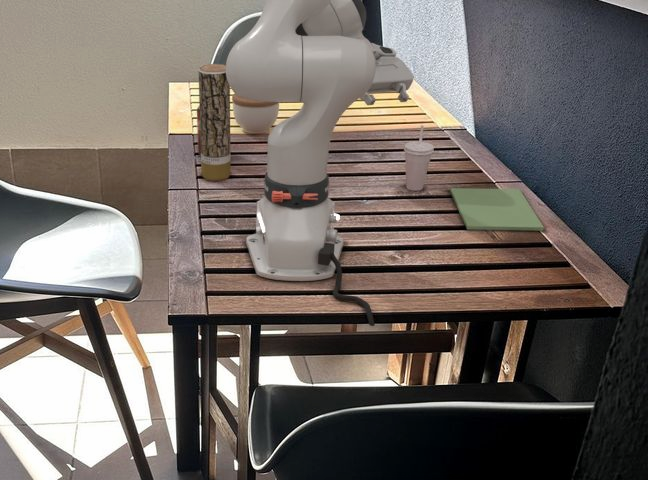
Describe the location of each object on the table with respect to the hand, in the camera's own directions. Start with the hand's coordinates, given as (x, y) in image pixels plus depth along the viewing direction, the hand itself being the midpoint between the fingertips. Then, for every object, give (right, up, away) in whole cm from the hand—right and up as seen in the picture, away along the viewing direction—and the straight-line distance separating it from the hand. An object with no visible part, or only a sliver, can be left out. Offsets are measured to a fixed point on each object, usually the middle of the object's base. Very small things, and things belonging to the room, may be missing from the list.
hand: (388, 101), depth 182 cm
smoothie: (+6, -20, 0) cm, 20 cm away
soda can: (-40, -8, +20) cm, 45 cm away
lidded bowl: (-29, +2, +36) cm, 46 cm away
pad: (+20, -26, -12) cm, 35 cm away
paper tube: (-39, -16, +7) cm, 43 cm away
